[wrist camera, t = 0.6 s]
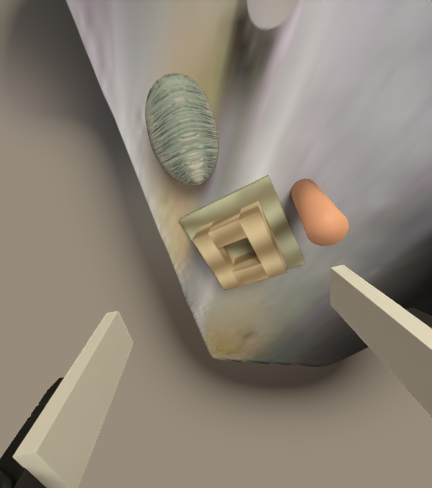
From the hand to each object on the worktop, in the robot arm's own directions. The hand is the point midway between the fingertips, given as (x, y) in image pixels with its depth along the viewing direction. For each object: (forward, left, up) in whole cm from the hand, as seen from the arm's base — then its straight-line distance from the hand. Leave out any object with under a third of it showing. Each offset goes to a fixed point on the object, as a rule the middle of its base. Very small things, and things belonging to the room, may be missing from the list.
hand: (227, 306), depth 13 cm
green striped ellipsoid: (-12, -4, -26) cm, 29 cm away
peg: (+4, +8, -26) cm, 28 cm away
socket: (+8, -5, -26) cm, 28 cm away
